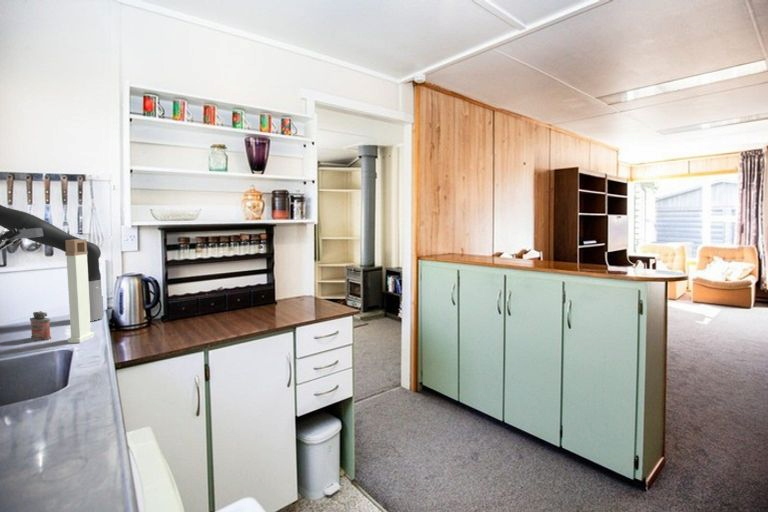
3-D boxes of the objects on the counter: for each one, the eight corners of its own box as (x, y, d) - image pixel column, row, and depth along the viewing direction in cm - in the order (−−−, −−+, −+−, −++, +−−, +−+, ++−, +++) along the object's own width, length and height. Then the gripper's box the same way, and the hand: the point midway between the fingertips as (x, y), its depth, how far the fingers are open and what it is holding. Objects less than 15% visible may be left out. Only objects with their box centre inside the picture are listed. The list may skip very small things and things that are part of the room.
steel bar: (11, 239, 144) (10, 231, 144) (43, 236, 145) (42, 227, 144) (4, 240, 141) (2, 231, 141) (37, 236, 142) (35, 228, 141)
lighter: (28, 338, 147) (26, 311, 146) (38, 336, 150) (37, 309, 150) (43, 341, 145) (41, 313, 144) (53, 338, 148) (52, 311, 147)
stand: (83, 336, 151) (78, 239, 148) (94, 336, 152) (89, 239, 148) (67, 342, 143) (61, 240, 140) (79, 342, 144) (74, 240, 140)
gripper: (-49, 246, 135) (-3, 221, 135) (-10, 243, 149) (31, 220, 149) (-35, 265, 136) (10, 240, 136) (2, 261, 150) (42, 238, 150)
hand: (20, 230), depth 143 cm, fingers closed on steel bar, 3 cm apart
